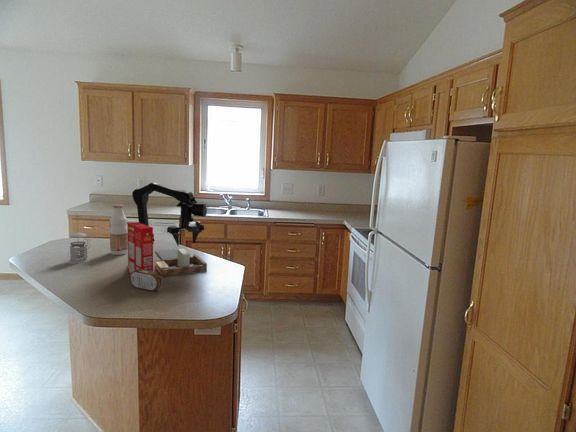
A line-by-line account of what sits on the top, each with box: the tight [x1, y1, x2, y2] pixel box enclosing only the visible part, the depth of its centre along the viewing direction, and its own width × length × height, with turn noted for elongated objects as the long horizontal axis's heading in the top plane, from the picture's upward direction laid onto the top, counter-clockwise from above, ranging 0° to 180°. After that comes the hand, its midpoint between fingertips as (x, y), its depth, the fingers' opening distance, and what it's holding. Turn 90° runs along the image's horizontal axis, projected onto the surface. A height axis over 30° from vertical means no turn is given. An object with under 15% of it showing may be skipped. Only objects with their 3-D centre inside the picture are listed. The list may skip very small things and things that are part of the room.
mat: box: [155, 248, 179, 260], centre depth 219 cm, size 14×18×1 cm
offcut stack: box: [155, 261, 170, 275], centre depth 191 cm, size 4×13×4 cm, turn 31°
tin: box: [129, 269, 163, 292], centre depth 165 cm, size 15×3×8 cm, turn 71°
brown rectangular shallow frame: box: [155, 254, 208, 277], centre depth 196 cm, size 22×18×4 cm
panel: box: [177, 248, 191, 268], centre depth 196 cm, size 3×12×9 cm, turn 31°
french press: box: [68, 214, 91, 265], centre depth 198 cm, size 10×12×25 cm
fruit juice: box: [109, 204, 128, 256], centre depth 215 cm, size 9×9×28 cm
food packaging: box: [126, 221, 154, 275], centre depth 179 cm, size 15×5×25 cm, turn 47°
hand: (186, 244), depth 199 cm, fingers open, 9 cm apart
